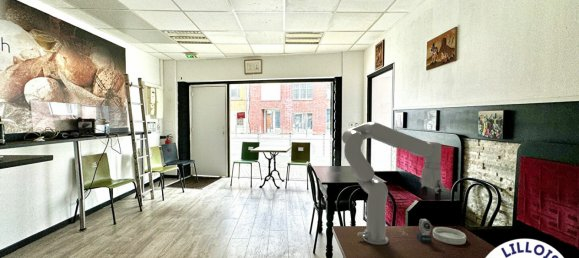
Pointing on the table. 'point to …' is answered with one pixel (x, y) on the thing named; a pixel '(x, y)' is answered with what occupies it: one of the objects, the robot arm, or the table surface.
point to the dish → (449, 235)
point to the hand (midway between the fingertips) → (430, 197)
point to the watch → (424, 231)
